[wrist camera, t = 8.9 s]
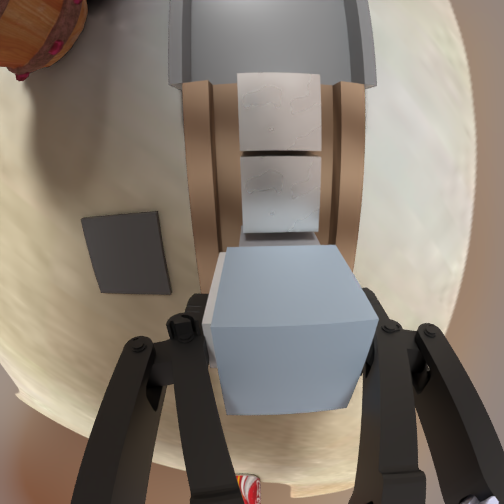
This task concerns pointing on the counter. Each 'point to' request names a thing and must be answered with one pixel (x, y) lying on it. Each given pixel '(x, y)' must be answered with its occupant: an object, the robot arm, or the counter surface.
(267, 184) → the light grey cube
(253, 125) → the pale grey cube
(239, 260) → the blue-grey rectangular block
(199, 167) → the slot bed
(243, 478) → the soda can
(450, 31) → the counter surface
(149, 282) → the pad
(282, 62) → the tray
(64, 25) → the mug
